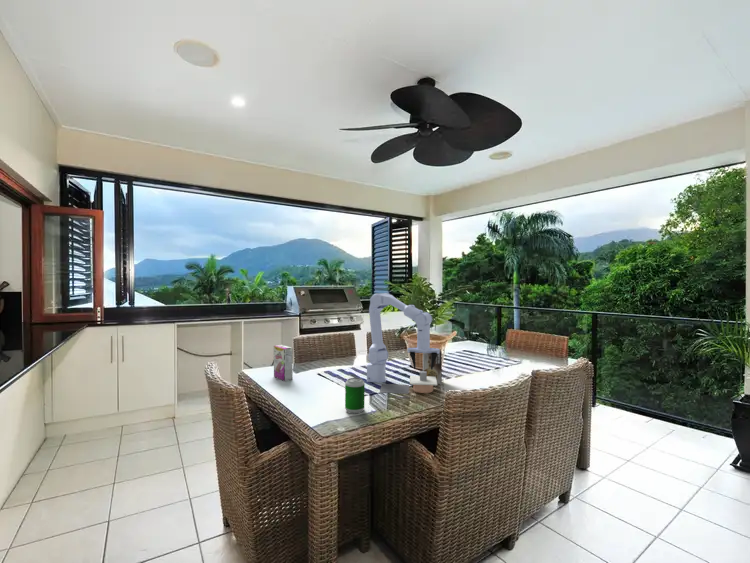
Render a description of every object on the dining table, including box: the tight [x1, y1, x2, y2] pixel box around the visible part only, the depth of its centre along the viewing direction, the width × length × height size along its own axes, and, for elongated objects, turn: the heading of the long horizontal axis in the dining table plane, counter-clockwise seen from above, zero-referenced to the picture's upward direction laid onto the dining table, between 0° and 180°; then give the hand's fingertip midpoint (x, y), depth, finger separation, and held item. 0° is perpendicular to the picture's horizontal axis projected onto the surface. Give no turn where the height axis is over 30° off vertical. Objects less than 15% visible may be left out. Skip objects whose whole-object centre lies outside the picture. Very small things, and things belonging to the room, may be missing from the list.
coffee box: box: [422, 348, 443, 386], centre depth 173 cm, size 9×6×16 cm
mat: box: [378, 383, 410, 394], centre depth 163 cm, size 13×13×1 cm
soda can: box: [344, 377, 366, 414], centre depth 136 cm, size 8×8×12 cm
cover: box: [409, 370, 438, 386], centre depth 161 cm, size 12×12×4 cm
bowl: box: [412, 384, 434, 394], centre depth 161 cm, size 9×9×4 cm
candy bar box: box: [273, 344, 294, 382], centre depth 180 cm, size 11×5×16 cm, turn 44°
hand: (423, 368), depth 161 cm, fingers open, 7 cm apart
